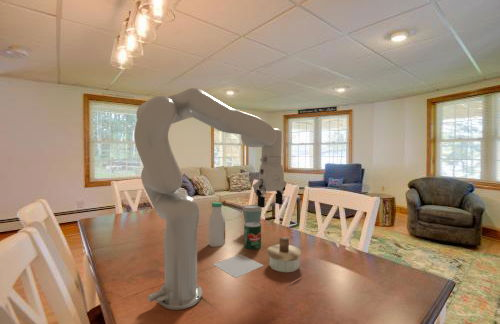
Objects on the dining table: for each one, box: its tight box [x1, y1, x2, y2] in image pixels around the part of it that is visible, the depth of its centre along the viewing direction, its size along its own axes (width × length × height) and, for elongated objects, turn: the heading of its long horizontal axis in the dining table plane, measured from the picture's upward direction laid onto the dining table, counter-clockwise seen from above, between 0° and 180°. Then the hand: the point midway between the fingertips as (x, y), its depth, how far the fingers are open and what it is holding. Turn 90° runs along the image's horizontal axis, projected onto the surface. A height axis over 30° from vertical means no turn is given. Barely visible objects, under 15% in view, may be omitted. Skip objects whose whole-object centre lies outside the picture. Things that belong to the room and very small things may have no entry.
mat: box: [212, 253, 265, 279], centre depth 98 cm, size 14×14×1 cm
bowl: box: [269, 257, 300, 273], centre depth 97 cm, size 11×11×5 cm
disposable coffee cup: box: [242, 204, 263, 224], centre depth 137 cm, size 11×11×15 cm
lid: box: [266, 236, 302, 261], centre depth 97 cm, size 13×13×6 cm
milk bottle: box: [208, 201, 226, 248], centre depth 119 cm, size 8×8×20 cm
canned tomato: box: [243, 222, 262, 251], centre depth 116 cm, size 8×8×11 cm
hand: (270, 205), depth 97 cm, fingers open, 9 cm apart
